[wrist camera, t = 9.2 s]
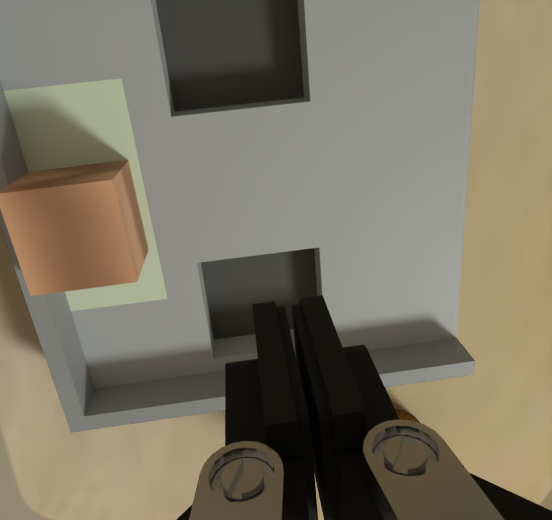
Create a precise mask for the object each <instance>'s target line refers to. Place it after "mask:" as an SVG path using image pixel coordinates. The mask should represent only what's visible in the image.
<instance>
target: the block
mask: <svg viewBox="0 0 552 520" xmlns="http://www.w3.org/2000/svg"><path fill="white" fill-rule="evenodd" d="M0 209H1V212H2V215H3V218H4V221H5V224H6V227H7V230H8V232H9V235H10V238H11V241H12V244H13V247H14V250H15V253H16V256H17V258H18V261H19V264H20V267H21V270H22V273H23V276H24V279H25V282H26V285H27V287H28V290H29V293H30V296H36V295H44V294H51V293H59V292H66V291H74V290H81V289H89V288H96V287H104V286H111V285H119V284H126V283H134V282H137V281H138V278H139V276H140V273H141V270H142V267H143V264H144V261H145V259H146V256H147V253H148V245H147V241H146V236H145V232H144V227H143V223H142V219H141V214H140V210H139V205H138V201H137V196H136V192H135V187H134V183H133V178H132V174H131V169H130V165H129V160H124V161H115V162H107V163H99V164H90V165H82V166H74V167H66V168H57V169H49V170H41V171H32V172H28V173H26V174H25V175H23V176H22V177H20V178H19V179H17V180H16V181H14V182H13V183H11V184H10V185H8V186H7V187H5V188H4V189H2V190H1V191H0Z"/></svg>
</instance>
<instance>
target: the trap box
mask: <svg viewBox="0 0 552 520" xmlns="http://www.w3.org/2000/svg"><path fill="white" fill-rule="evenodd" d="M478 14H479V0H0V191H1V190H2V189H4V188H5V187H7V186H8V185H10V184H11V183H13V182H14V181H16V180H17V179H19V178H20V177H22V176H23V175H25V174H26V173H28V172H32V171H41V170H49V169H57V168H66V167H74V166H82V165H90V164H99V163H107V162H115V161H124V160H129V165H130V169H131V174H132V178H133V183H134V187H135V192H136V196H137V201H138V205H139V210H140V214H141V219H142V223H143V227H144V232H145V236H146V241H147V245H148V253H147V256H146V259H145V261H144V264H143V267H142V270H141V273H140V276H139V278H138V281H137V282H134V283H126V284H119V285H111V286H104V287H96V288H89V289H81V290H74V291H66V292H59V293H51V294H44V295H36V296H30V293H29V290H28V287H27V285H26V282H25V279H24V276H23V273H22V270H21V267H20V264H19V261H18V258H17V256H16V253H15V250H14V247H13V244H12V241H11V238H10V235H9V232H8V230H7V227H6V224H5V221H4V218H3V215H2V212H1V209H0V228H1V231H2V234H3V237H4V240H5V242H6V245H7V248H8V251H9V254H10V257H11V260H12V263H13V266H14V269H15V271H16V274H17V277H18V280H19V283H20V286H21V289H22V292H23V295H24V298H25V300H26V303H27V306H28V309H29V312H30V315H31V318H32V321H33V324H34V327H35V329H36V332H37V335H38V338H39V341H40V344H41V347H42V350H43V353H44V356H45V358H46V361H47V364H48V367H49V370H50V373H51V376H52V379H53V382H54V385H55V387H56V390H57V393H58V396H59V399H60V402H61V405H62V408H63V411H64V414H65V416H66V419H67V422H68V425H69V428H70V431H71V432H78V431H85V430H92V429H99V428H106V427H113V426H120V425H127V424H134V423H141V422H148V421H155V420H161V419H168V418H175V417H182V416H189V415H196V414H203V413H210V412H217V411H224V410H225V364H226V363H229V362H236V361H244V360H251V359H258V356H257V347H256V337H255V327H254V318H253V308H252V304H256V303H264V302H271V301H275V305H276V307H280V306H285V310H286V315H287V319H288V324H289V328H290V333H291V337H292V342H293V346H294V351H295V342H294V331H293V320H292V309H291V305H295V304H299V298H303V297H310V296H318V295H323V297H324V300H325V302H326V305H327V308H328V310H329V313H330V316H331V318H332V321H333V324H334V326H335V329H336V331H337V334H338V337H339V339H340V342H341V345H342V347H349V346H356V345H365V346H366V348H367V350H368V352H369V354H370V356H371V358H372V360H373V363H374V365H375V367H376V369H377V371H378V374H379V376H380V378H381V380H382V382H383V385H384V387H391V386H398V385H405V384H412V383H419V382H426V381H433V380H440V379H446V378H453V377H460V376H467V375H474V366H475V360H474V359H473V358H472V357H471V355H470V354H469V353H468V352H467V350H466V349H465V348H464V347H463V345H462V344H461V343H460V342H459V340H458V339H457V325H458V310H459V296H460V281H461V266H462V251H463V236H464V222H465V207H466V192H467V177H468V162H469V147H470V133H471V118H472V103H473V88H474V73H475V59H476V44H477V29H478ZM295 355H296V353H295Z"/></svg>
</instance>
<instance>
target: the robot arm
mask: <svg viewBox="0 0 552 520" xmlns="http://www.w3.org/2000/svg"><path fill="white" fill-rule="evenodd" d="M252 308H253V318H254V327H255V337H256V347H257V356H258V359H251V360H244V361H236V362H229V363H226V364H225V446H224V447H222V448H220V449H219V450H218V451H216V452H215V453H213V454H212V455H211V456H210V457H209V459H208V460H207V461H206V462H205V463H204V465H203V468H202V470H201V472H200V475H199V480H198V484H197V488H196V492H195V497H194V501H193V504H192V505H191V506H190V507H189V508H188V509H187V510H186V511H185V512H184V513H183V514H182V515H181V516H180V517H179V518H178V519H177V520H318V513H317V501H316V489H315V478H316V482H317V487H318V492H319V497H320V502H321V507H322V512H323V516H324V520H552V511H550V510H548V509H546V508H544V507H542V506H540V505H538V504H535V503H533V502H531V501H529V500H527V499H525V498H522V497H520V496H518V495H516V494H514V493H512V492H510V491H507V490H505V489H503V488H501V487H499V486H497V485H494V484H492V483H490V482H488V481H486V480H484V479H481V478H479V477H477V476H475V475H473V474H471V473H469V472H468V471H467V470H466V468H465V467H464V466H463V465H462V463H461V462H460V461H459V459H458V458H457V457H456V455H455V454H454V453H453V451H452V450H451V449H450V447H449V446H448V445H447V444H446V442H445V441H444V440H443V438H442V437H441V436H439V435H438V434H437V433H436V432H435V431H434V430H433V429H431V428H429V427H427V426H426V425H424V424H421V423H418V422H415V421H411V420H400V419H399V417H398V415H397V413H396V411H395V409H394V406H393V404H392V402H391V400H390V398H389V396H388V393H387V391H386V389H385V387H384V385H383V382H382V380H381V378H380V376H379V374H378V371H377V369H376V367H375V365H374V363H373V360H372V358H371V356H370V354H369V352H368V350H367V348H366V346H365V345H356V346H349V347H342V345H341V342H340V339H339V337H338V334H337V331H336V329H335V326H334V324H333V321H332V318H331V316H330V313H329V310H328V308H327V305H326V302H325V300H324V297H323V295H318V296H310V297H303V298H299V304H295V305H291V309H292V320H293V331H294V342H295V351H294V346H293V342H292V337H291V333H290V328H289V324H288V319H287V315H286V310H285V306H280V307H276V305H275V301H271V302H264V303H256V304H252ZM295 353H296V355H295ZM314 473H315V477H314Z"/></svg>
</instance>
